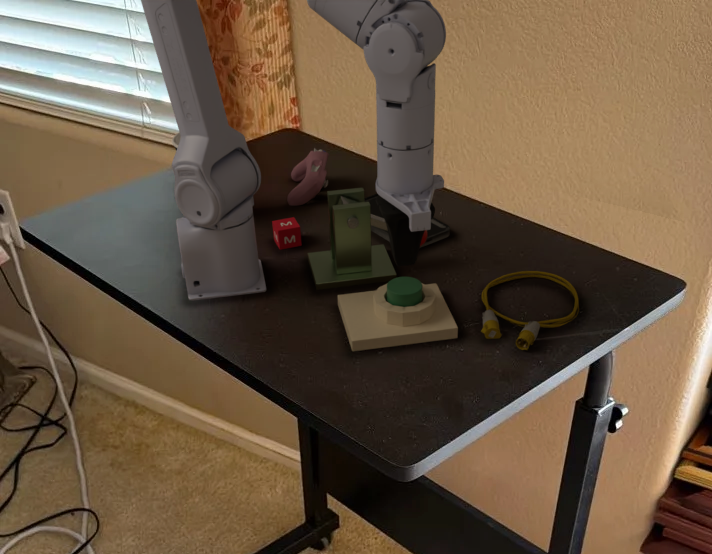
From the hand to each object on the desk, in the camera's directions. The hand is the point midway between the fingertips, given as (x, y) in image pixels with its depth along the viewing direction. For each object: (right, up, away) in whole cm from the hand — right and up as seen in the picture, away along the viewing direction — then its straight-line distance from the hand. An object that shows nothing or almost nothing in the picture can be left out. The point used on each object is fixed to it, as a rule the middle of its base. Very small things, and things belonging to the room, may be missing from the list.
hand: (404, 262), depth 97 cm
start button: (0, -3, +3) cm, 5 cm away
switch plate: (-1, -6, +5) cm, 8 cm away
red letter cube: (-14, +7, +20) cm, 26 cm away
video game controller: (-12, +18, +32) cm, 38 cm away
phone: (0, +11, +23) cm, 26 cm away
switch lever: (-3, +6, +12) cm, 13 cm away
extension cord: (+14, -4, +6) cm, 16 cm away
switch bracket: (-6, +2, +14) cm, 16 cm away
